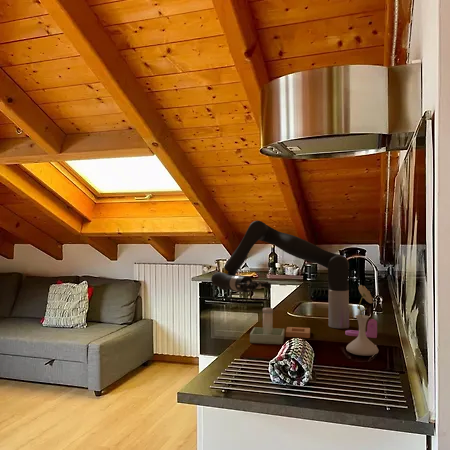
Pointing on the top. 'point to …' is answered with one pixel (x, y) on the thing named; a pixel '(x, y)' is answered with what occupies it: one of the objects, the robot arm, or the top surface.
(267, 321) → the cylinder
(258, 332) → the tray
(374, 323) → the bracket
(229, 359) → the top surface
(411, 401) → the top surface
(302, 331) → the fuse holder
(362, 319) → the flower in vase
